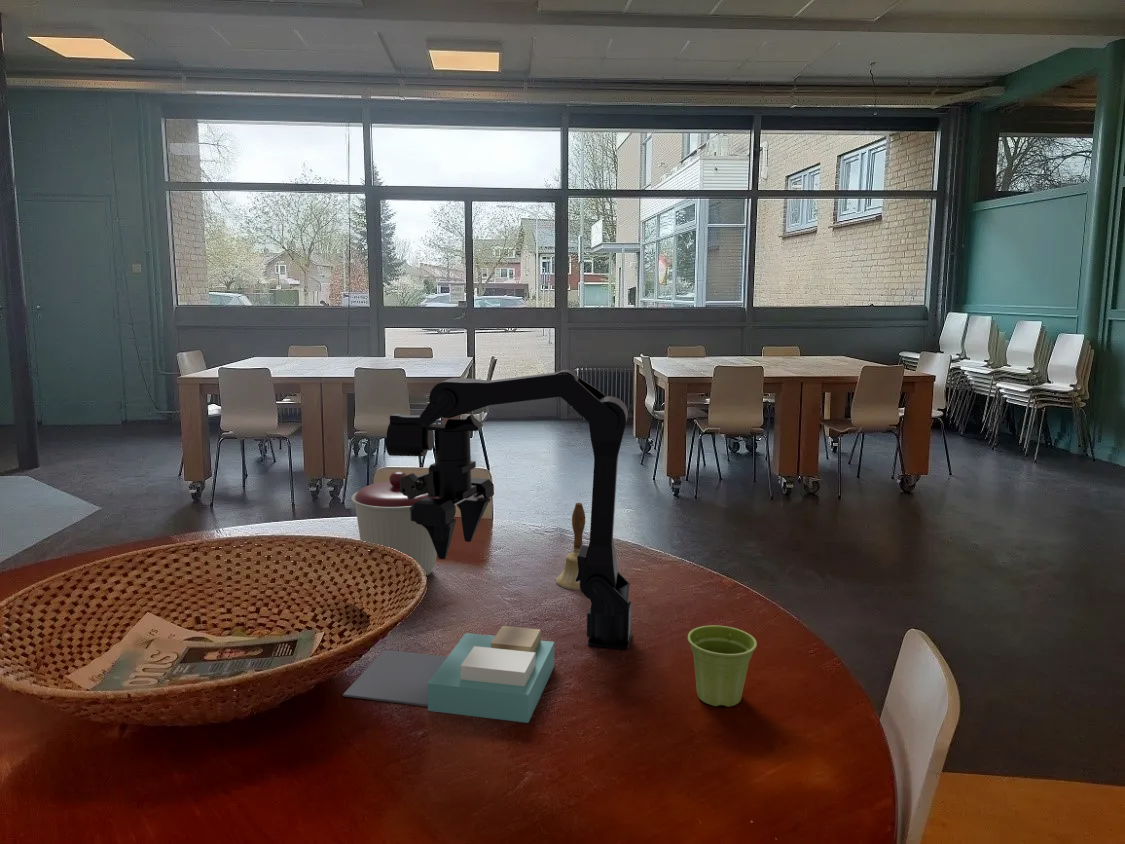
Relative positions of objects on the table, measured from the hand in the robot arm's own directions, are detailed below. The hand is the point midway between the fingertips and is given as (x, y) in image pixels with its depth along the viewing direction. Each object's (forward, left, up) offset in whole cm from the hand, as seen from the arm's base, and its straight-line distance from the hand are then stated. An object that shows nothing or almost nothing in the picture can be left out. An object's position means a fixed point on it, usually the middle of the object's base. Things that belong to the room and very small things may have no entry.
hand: (455, 549), depth 129 cm
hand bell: (-16, -26, -14) cm, 34 cm away
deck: (-12, +17, -14) cm, 25 cm away
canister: (+19, -22, -14) cm, 33 cm away
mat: (+2, +17, -14) cm, 22 cm away
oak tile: (-14, +12, -10) cm, 21 cm away
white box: (-13, +20, -10) cm, 26 cm away
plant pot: (-43, +12, -14) cm, 47 cm away
